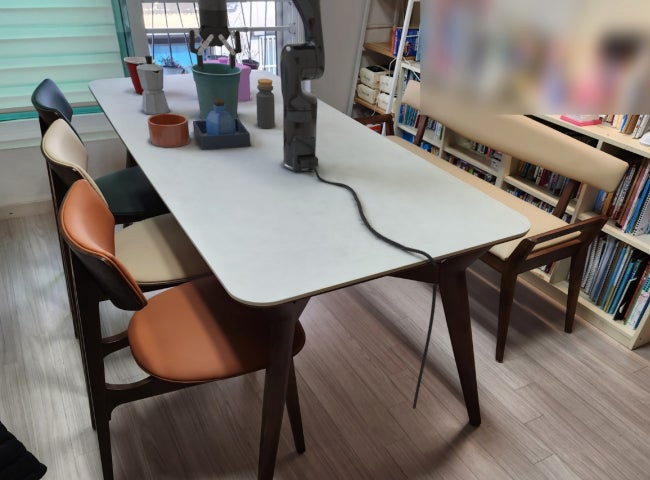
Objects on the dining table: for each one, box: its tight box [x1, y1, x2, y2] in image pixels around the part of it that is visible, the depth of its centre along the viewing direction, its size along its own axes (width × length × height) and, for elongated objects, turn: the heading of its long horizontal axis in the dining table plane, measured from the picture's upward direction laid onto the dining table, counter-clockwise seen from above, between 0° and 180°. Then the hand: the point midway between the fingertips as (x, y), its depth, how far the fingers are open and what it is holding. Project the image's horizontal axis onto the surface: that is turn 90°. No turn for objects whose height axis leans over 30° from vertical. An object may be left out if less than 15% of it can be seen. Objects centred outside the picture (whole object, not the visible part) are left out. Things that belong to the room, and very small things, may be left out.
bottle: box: [255, 78, 276, 130], centre depth 174 cm, size 6×6×15 cm
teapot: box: [187, 56, 252, 102], centre depth 197 cm, size 15×25×14 cm, turn 131°
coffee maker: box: [137, 55, 170, 116], centre depth 176 cm, size 15×9×18 cm, turn 42°
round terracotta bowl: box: [146, 113, 191, 148], centre depth 158 cm, size 11×11×6 cm
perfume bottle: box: [205, 99, 237, 136], centre depth 161 cm, size 6×6×12 cm
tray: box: [192, 117, 251, 150], centre depth 163 cm, size 14×14×4 cm
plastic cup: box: [123, 56, 157, 95], centre depth 194 cm, size 11×11×12 cm
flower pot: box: [189, 63, 242, 120], centre depth 178 cm, size 16×16×16 cm
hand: (216, 68), depth 153 cm, fingers open, 8 cm apart
